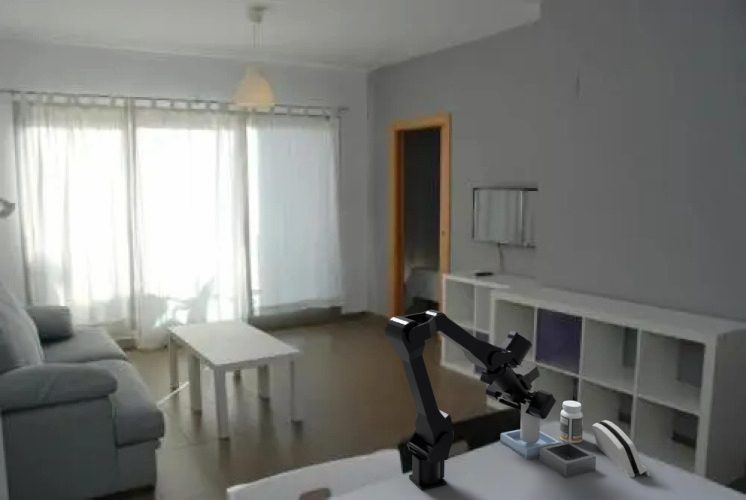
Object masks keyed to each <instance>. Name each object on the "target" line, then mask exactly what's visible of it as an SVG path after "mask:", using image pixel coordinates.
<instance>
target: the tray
mask: <svg viewBox="0 0 746 500" xmlns="http://www.w3.org/2000/svg"><path fill="white" fill-rule="evenodd" d="M520 430H521V428H520V429H515V430H511V431H510V430H509V431H505V432H501V433H500V444H502V445H504V446H505V447H506V448H508V447H509V448H508V449H510V448H511V449H512V450H511V449H510V450H511V451H513V452H514V451H515V452H514V453H516V454H518V455H519V456H520V457H522V458H523V459H525V460H530V459H534V458H540V448H542V447H547V446H551V445H556V444H560V443H562V442H561V441H559V439H558V440H557V439H556V438H554V437H552V436H550V435H548V434H546V433H545V432H543V431H541V430H540V435H539V440H538V442H536V443H527V442H524V441H523V440H522V439H521V438H520Z"/></svg>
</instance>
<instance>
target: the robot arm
mask: <svg viewBox="0 0 746 500" xmlns="http://www.w3.org/2000/svg"><path fill="white" fill-rule="evenodd" d="M384 333H385V336H386V339H387V340H388V343H389V344H390V346H391V348H392V349H393V351H395V352H396V354H397V355H398V356H399V358H400V360H401V363H402V367H403V369H404V372H405V375H406V380H407V382H408V387H409V390H410V393H411V396H412V399H413V403H414V407H415V409H416V413H417V414H416V417H415V422H414V424H415V430H414V432H413V433H412V434H411V436H410V438H409V439H408V441H407V442H406V445H407V448H408V451H410V452H412V453H413V454H412V456H411V457H412V467H411V474H408V478H409V480H410V481H412V482H413V483H414V484H415V485H416V487H417V486H418V488H419V489H420V490H421V491H422V490H423V491H424V490H428V489H432V488H437V487H440V486H445V485H447V480H446V479H445V464H446V463H445V462H446V461H448V458H449V455H450V451H451V448H452V445H453V441H454V438H455V433H454V432H456V428H454V426H453V421H452V416H451V415H450V414H448V413H447V412H445V411H442V410H441V409H439V405H438V402H437V399H436V396H435V393H434V389H433V385H432V382H431V380H430V375H429V371H428V368H427V364H426V362H425V358H424V350H425V348H426V347H425V346H426V340H428V339H431V338H432V337H434V335H436V334H437V333H438V334H439V336H441V337H443V338H445V339H446V340H447V341H449V342H450V343H451V344H453V345H455V346H456V347H458V348H459V349H460V350H461V351H462V352H463V354H464V356H465V358H466V359H467V360H468V361H469V362H470V363H471V364H473V365H475V366H478V367H481V368H484V370H482V371H481V375H480V377H479V381H480V382H482V383H484V384H487V386H486V388H485V395H486V396H487V397H488V398H489V399H491V400H493V401H498V402H499V404H502V405H505V406H507V407H510V408H513V409H516V410H518V411H520V412H521V404H524V405H525V404H526V402H527V403H528V404H529V406H528V409H527V410H526V412H525V413H527V414H529V415H532V416H535V417H537V418H540V420H545V419H547V417H548V416H549V414H550V412H551V410H552V409H553V407H554V405H555V404H556V402H557V399H556V398H557V397H555V396H554V394H553V393H550V392H548V391H546V390H542V389H539V390H537V391H531V389H532V387H533V385H532V384H531V383H533V382H534V381H535V380H536V379H537V378H539V377H540V376H541V374H540V370H539V367H538V364H537V363H536V362H533V361H532V362H531V361H529V360H525V358H526V357H527V355H528V353H529V352H530V350H531V349H532V348H533V344H532V342H531V341H530V340H529V339H527V338H525V337H524V336H522V335H520V333H519V332H517V331H516V330H515V331H514V330H510V331H509V333H508V334H507V337H506V338H505V340H504V341H503V343H502V344H501V345H500V346H497V345H494V344H492V343H489V342H487V341H483V340H481V339H479V338H477V337H476V336H474V335H473V334H471V333H470V332H468V330H466V329H465V328H463V327H462V326H460V325H459V324H458V323H456V322H455V321H453V319H450V318H449V317H448V316H447V315H446V314H445V313H444V312H443V311H438V310H434V309H429V310H425V311H423V312H417V313H412V314H407V315H403V316H400V315H396V316H394V317H391V318H390V319H389V320H388V322H387V324H386V326H385V327H384ZM531 392H532V393H531ZM531 396H532V397H531Z"/></svg>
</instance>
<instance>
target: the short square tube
mask: <svg viewBox="0 0 746 500" xmlns="http://www.w3.org/2000/svg"><path fill="white" fill-rule="evenodd" d="M596 456H597V455H594V454H593V453H591V452H588V451H587V450H585V449H584V448H581V447H579V446H578V445H576V444H575V443H570V442H565V441H563V442H561V443H560V444H556V445H551V446H547V447H542V448H540V456H539V463H541V464H542V465H544V466H546V467H547V468H548V469H550V470H552V471H554V472H555V473H557V474H559V475H560V476H562V477H563V478H564V479H569V478H573V477H576V476H580V475H584V474H588V473H593V472H596V470H597V469H596V466H597V465H596V464H597V463H596V462H597V457H596ZM567 458H568V459H569V460H566V459H567Z"/></svg>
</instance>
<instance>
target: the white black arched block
mask: <svg viewBox="0 0 746 500" xmlns="http://www.w3.org/2000/svg"><path fill="white" fill-rule="evenodd" d="M591 428H592V432H593V436H594V439H595V443H596V447H597V448H598V449H599V450H600V451H602V452H603V454H605V455H606V456H607V457H608V458H609V459H610V460H611V461H612V462H613V463H614V464H615V465H616V466H617V467H618V468H619V469H620V470H621V471H622V472H623V473H625V474H626V475H627V476H628V478H635V477H636V474H639V475H643V474H645V475H646V476H647V477H650V476H651V474H650V471H649V469H648V468H647V467H646V466H645V465H644V464H643V463H642V462H641V458H640V456H639V453H638V451H637V448H636V446H635V443H634V442H633V441H632V440H631V439H630V437H629V436H628V435H627V434H626V433H625V432H624V431H623V429H621V428H620V427H619V426H618V425H616V424H614V422H612V421H610V420H606V419H604V420H600V422H595V423H594V424H592V425H591Z"/></svg>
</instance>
